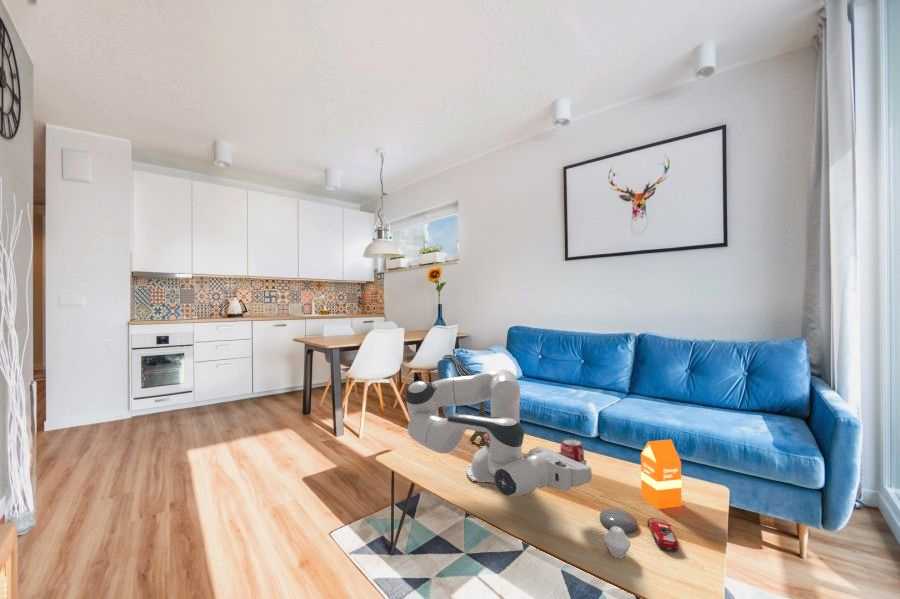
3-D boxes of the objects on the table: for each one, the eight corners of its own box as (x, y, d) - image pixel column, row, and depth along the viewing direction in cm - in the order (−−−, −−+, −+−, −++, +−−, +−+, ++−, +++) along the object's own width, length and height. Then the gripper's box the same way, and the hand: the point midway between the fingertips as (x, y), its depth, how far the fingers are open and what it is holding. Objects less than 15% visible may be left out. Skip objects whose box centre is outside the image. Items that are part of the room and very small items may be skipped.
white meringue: (605, 559, 95) (604, 531, 95) (604, 544, 100) (603, 518, 101) (631, 564, 92) (631, 536, 93) (629, 549, 98) (629, 523, 98)
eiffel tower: (466, 442, 176) (466, 389, 176) (482, 436, 183) (481, 386, 183) (482, 448, 168) (481, 393, 168) (498, 442, 175) (497, 390, 175)
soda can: (581, 475, 120) (580, 437, 120) (587, 485, 113) (586, 446, 113) (558, 474, 120) (558, 437, 120) (563, 484, 113) (562, 445, 113)
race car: (645, 523, 110) (645, 509, 110) (666, 525, 109) (665, 512, 109) (657, 551, 98) (656, 536, 98) (680, 555, 96) (680, 539, 96)
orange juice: (682, 506, 118) (680, 443, 119) (657, 509, 117) (656, 446, 117) (664, 494, 126) (663, 435, 126) (641, 496, 125) (639, 437, 125)
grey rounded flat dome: (609, 534, 105) (609, 529, 105) (594, 514, 115) (594, 509, 115) (644, 533, 105) (644, 527, 105) (626, 513, 115) (625, 508, 115)
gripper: (520, 466, 118) (550, 456, 125) (571, 494, 101) (603, 480, 108) (519, 446, 118) (550, 438, 125) (571, 470, 101) (603, 459, 108)
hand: (575, 458), depth 117 cm, fingers closed on soda can, 5 cm apart
